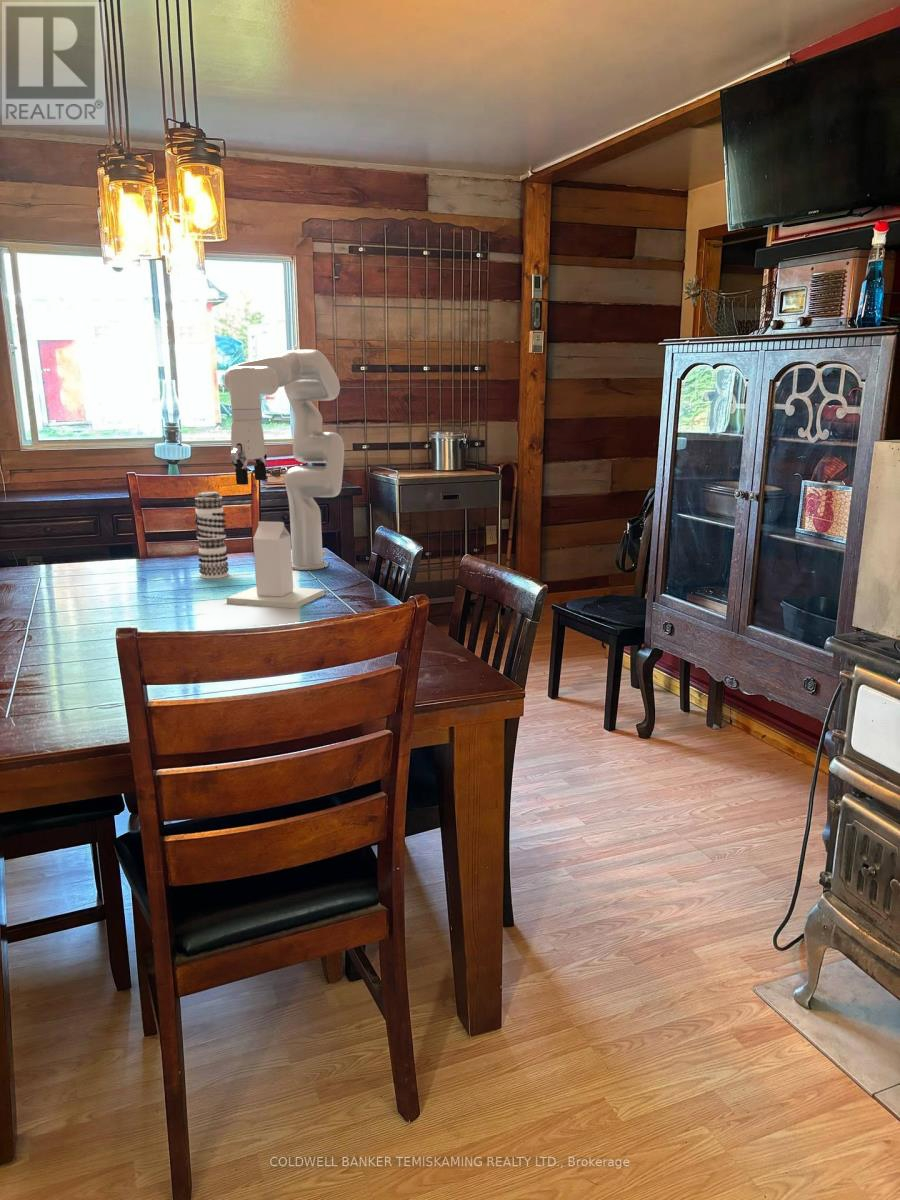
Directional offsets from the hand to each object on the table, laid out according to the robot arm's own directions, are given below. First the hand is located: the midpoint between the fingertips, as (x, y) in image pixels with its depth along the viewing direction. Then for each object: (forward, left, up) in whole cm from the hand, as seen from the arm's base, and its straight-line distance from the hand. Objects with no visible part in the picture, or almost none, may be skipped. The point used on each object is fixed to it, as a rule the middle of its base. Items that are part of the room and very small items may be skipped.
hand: (251, 482), depth 217 cm
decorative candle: (-17, -25, -30) cm, 43 cm away
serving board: (+6, +9, -30) cm, 32 cm away
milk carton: (+7, +9, -29) cm, 31 cm away
